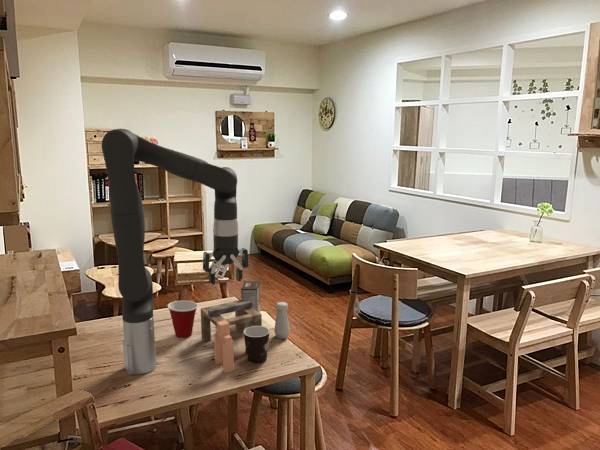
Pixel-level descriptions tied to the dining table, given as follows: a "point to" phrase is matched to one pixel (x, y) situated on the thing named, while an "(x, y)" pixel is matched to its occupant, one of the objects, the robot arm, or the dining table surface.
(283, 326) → the salt shaker
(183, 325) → the plastic cup
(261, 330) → the coffee mug
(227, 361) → the stepped pink block
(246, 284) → the coffee box
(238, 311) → the square wooden frame
